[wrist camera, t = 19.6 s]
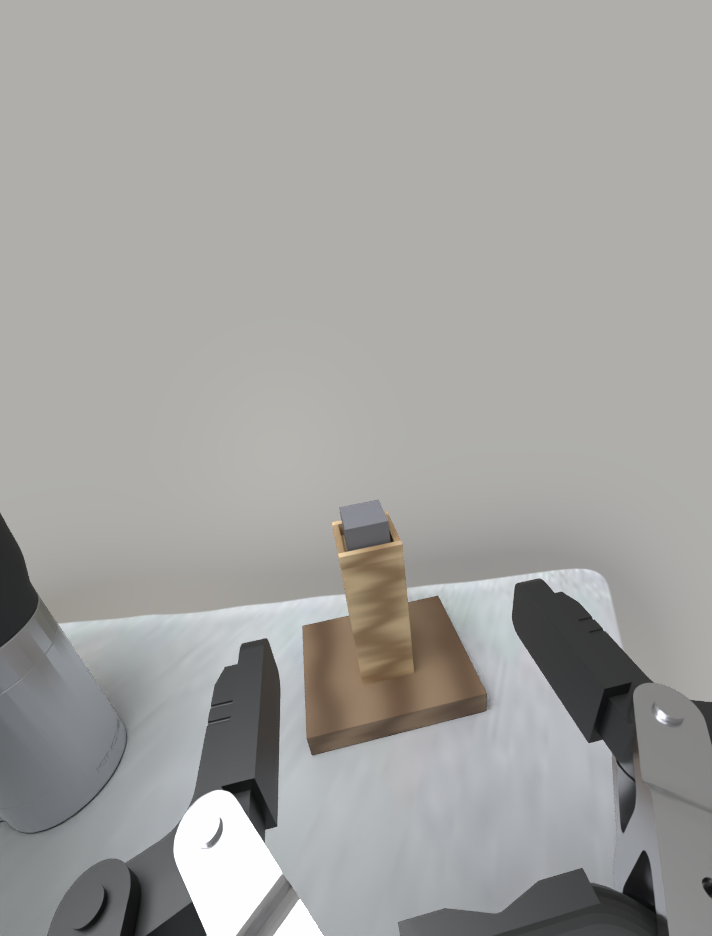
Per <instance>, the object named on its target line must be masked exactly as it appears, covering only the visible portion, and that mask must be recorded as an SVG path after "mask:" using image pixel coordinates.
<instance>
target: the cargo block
mask: <svg viewBox="0 0 712 936" xmlns="http://www.w3.org/2000/svg"><path fill="white" fill-rule="evenodd" d="M339 509H340V514H341V520H342V526H343V532H344V537H345V541H346V545H347V549H348V551H353V550H358V549H363V548H367V547H372V546H377V545H381V544H386V543H391V542H390V533H389V524H388V519H387V517H386V515H385V513H384V511H383V509H382V506H381V505H380V502H379V500H374V501H369V502H364V503H359V504H354V505H349V506H344V507H340V508H339Z"/></svg>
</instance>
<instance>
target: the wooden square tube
mask: <svg viewBox="0 0 712 936" xmlns="http://www.w3.org/2000/svg"><path fill="white" fill-rule="evenodd" d="M384 513H385V515H386V517H387V519H388V524H389V533H390V542H391V543H386V544H381V545H377V546H372V547H367V548H363V549H358V550H353V551H348V549H347V545H346V541H345V537H344V532H343V526H342V520H341V521H336V522H332V526H333V531H334V536H335V541H336V547H337V552H338V558H339V563H340V568H341V573H342V579H343V585H344V590H345V595H346V601H347V606H348V611H349V617H350V622H351V627H352V633H353V638H354V643H355V648H356V653H357V659H358V664H359V669H360V674H361V679H362V684H363V686H365V685H369V684H373V683H377V682H381V681H385V680H389V679H393V678H397V677H401V676H405V675H409V674H413V673H414V665H413V654H412V643H411V632H410V621H409V610H408V599H407V588H406V578H405V567H404V556H403V546H402V542H401V540H400V538H399V536H398V534H397V532H396V529H395V527H394V525H393V523H392V521H391V519H390V517H389V515H388V512H387V511H385V512H384Z"/></svg>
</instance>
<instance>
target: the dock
mask: <svg viewBox="0 0 712 936" xmlns="http://www.w3.org/2000/svg"><path fill="white" fill-rule="evenodd" d="M408 610H409V621H410V632H411V643H412V654H413V665H414V673H413V674H409V675H405V676H401V677H397V678H393V679H389V680H385V681H381V682H377V683H373V684H369V685H365V686H363V684H362V679H361V674H360V669H359V664H358V659H357V653H356V648H355V643H354V638H353V633H352V627H351V622H350V617H349V616H345V617H340V618H336V619H331V620H327V621H323V622H318V623H314V624H309V625H305V626H302V628H303V654H304V681H305V707H306V733H307V741H308V744H309V747H310V751H311V754H312V755H315V754H319V753H323V752H327V751H331V750H335V749H339V748H342V747H346V746H350V745H354V744H358V743H362V742H366V741H370V740H374V739H378V738H382V737H386V736H390V735H393V734H397V733H401V732H405V731H409V730H413V729H417V728H421V727H425V726H429V725H433V724H437V723H440V722H444V721H448V720H452V719H456V718H460V717H464V716H468V715H472V714H476V713H480V712H484V711H486V699H487V693H486V691H485V689H484V687H483V685H482V683H481V681H480V679H479V677H478V675H477V673H476V671H475V669H474V667H473V665H472V663H471V661H470V659H469V657H468V655H467V653H466V651H465V649H464V647H463V645H462V643H461V641H460V639H459V637H458V635H457V633H456V631H455V629H454V627H453V625H452V623H451V621H450V619H449V617H448V615H447V613H446V611H445V609H444V607H443V605H442V603H441V601H440V599H439V597H438V596H435V597H430V598H426V599H421V600H417V601H412V602H408Z"/></svg>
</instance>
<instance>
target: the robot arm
mask: <svg viewBox="0 0 712 936" xmlns="http://www.w3.org/2000/svg"><path fill="white" fill-rule="evenodd" d="M512 621H513V625H514V628H515V631H516V633H517V635H518V636H519V638H520V639H521V641H522V643H523V644H524V646H525V647H526V649H527V650H528V652H529V653H530V655H531V656H532V658H533V659H534V661H535V662H536V664H537V665H538V667H539V668H540V670H541V671H542V673H543V674H544V676H545V678H546V679H547V681H548V682H549V684H550V685H551V687H552V688H553V690H554V691H555V693H556V694H557V696H558V697H559V699H560V700H561V702H562V703H563V705H564V706H565V708H566V709H567V711H568V713H569V714H570V716H571V717H572V719H573V720H574V722H575V723H576V725H577V726H578V728H579V729H580V731H581V732H582V734H583V735H584V737H585V738H586V740H587V741H588V743H591V742H595V741H599V740H604V742H605V743H606V745H607V746H608V748H609V749H610V750H611V752H612V767H613V785H614V804H615V822H616V848H615V855H614V868H613V883H614V889H611V888H609V887H606V886H603V885H599V884H595V883H590V882H589V880H588V878H587V876H586V874H585V872H584V870H583V868H581V869H577V870H574V871H570V872H567V873H564V874H560V875H557V876H553V877H550V878H547V879H543V880H540V881H538V882H537V883H536V884H534V885H533V886H532V887H531V888H530V889H528V890H527V891H526V892H525V893H524V894H522V895H521V896H520V897H519V898H518V899H516V900H515V901H514V902H513V903H512V904H511V905H509V906H508V907H507V908H506V909H505V910H503V911H502V912H500V913H497V914H492V913H483V912H474V911H465V910H456V909H446V908H444V909H441V910H438V911H434V912H431V913H427V914H424V915H421V916H417V917H414V918H410V919H407V920H404V921H400V922H398V925H399V931H400V936H712V702H704V701H694V700H689V699H688V698H687V697H685V696H684V695H683V694H681V693H680V692H678V691H676V690H674V689H672V688H670V687H668V686H665V685H662V684H658V683H654V682H652V681H651V680H650V679H649V678H648V677H647V676H646V675H645V674H644V673H643V672H642V671H641V670H640V669H639V667H638V666H637V665H636V664H635V663H634V662H633V661H632V660H631V659H630V658H629V657H628V655H627V654H626V653H625V652H624V651H623V650H622V649H621V648H620V647H619V646H618V645H617V643H616V642H615V641H614V640H613V639H612V638H611V637H610V636H609V635H608V634H607V633H606V631H605V632H604V631H603V628H602V627H601V626H600V625H599V624H598V623H597V622H596V621H595V620H593V619H592V616H591V615H590V614H589V613H588V612H587V611H586V610H585V609H584V608H583V607H582V605H581V604H580V603H579V602H577V601H576V600H574V599H572V598H571V597H569V596H568V595H566V594H564V593H563V592H558V593H554V592H553V591H552V590H551V588H550V587H549V586H548V585H547V584H546V583H545V582H544V581H543V580H542V579H534V580H530V581H525V582H520V583H517V584H516V585H515V590H514V600H513V611H512ZM279 729H280V679H279V673H278V669H277V666H276V663H275V659H274V656H273V653H272V650H271V647H270V644H269V641H268V639H267V638H266V639H261V640H256V641H252V642H247V643H243V644H242V645H241V647H240V653H239V660H238V664H237V665H232V666H228V667H225V668H224V670H223V672H222V673H221V675H220V677H219V679H218V681H217V682H216V684H215V687H214V692H213V697H212V703H211V709H210V713H209V718H208V726H207V729H206V734H205V740H204V745H203V750H202V755H201V761H200V766H199V771H198V777H197V782H196V787H195V791H194V795H193V798H192V801H191V803H190V805H189V807H188V810H187V811H186V813H185V815H184V816H183V818H182V819H181V820H180V822H179V823H178V824H177V825H176V827H175V828H174V829H173V830H172V831H171V832H170V833H169V834H168V835H167V836H165V837H164V838H163V839H161V840H160V841H159V842H157V843H156V844H154V845H152V846H151V847H149V848H148V849H146V850H145V851H143V852H142V853H140V854H139V855H137V856H136V857H134V858H133V859H131V860H130V861H128V862H126V863H124V862H123V861H121V860H119V859H106V860H103V861H101V862H98V863H97V864H95V865H93V866H92V867H90V868H89V869H88V870H87V871H85V872H84V873H83V874H82V875H81V876H80V877H79V878H78V879H77V880H76V881H75V882H74V884H73V885H72V886H71V887H70V889H69V890H68V891H67V893H66V894H65V896H64V897H63V899H62V901H61V902H60V904H59V906H58V908H57V910H56V912H55V915H54V917H53V920H52V922H51V925H50V928H49V931H48V934H47V936H206V935H208V936H323V935H322V933H321V932H320V930H319V928H318V927H317V925H316V924H315V922H314V920H313V919H312V917H311V916H310V914H309V912H308V911H307V909H306V908H305V906H304V905H303V903H302V901H301V900H300V898H299V897H298V895H297V894H296V892H295V890H294V889H293V887H292V886H291V885H290V883H289V882H288V881H287V879H286V878H285V876H284V875H283V873H282V872H281V870H280V868H279V867H278V865H277V864H276V862H275V860H274V859H273V857H272V856H271V854H270V852H269V851H268V849H267V848H266V846H265V830H266V829H270V828H274V827H277V815H278V772H279ZM125 744H126V730H125V726H124V724H123V723H122V721H121V720H120V718H119V717H118V715H117V713H116V712H115V710H114V709H113V707H112V706H111V704H110V703H109V701H108V699H107V698H106V696H105V695H104V693H103V692H102V690H101V689H100V687H99V686H98V684H97V683H96V681H95V679H94V678H93V676H92V675H91V673H90V672H89V670H88V669H87V667H86V666H85V664H84V663H83V661H82V660H81V658H80V657H79V655H78V654H77V652H76V651H75V649H74V648H73V646H72V645H71V643H70V642H69V640H68V639H67V637H66V636H65V634H64V633H63V631H62V630H61V628H60V626H59V625H58V623H57V622H56V621H55V619H54V618H53V616H52V615H51V613H50V612H49V610H48V609H47V607H46V606H45V604H44V603H43V601H42V600H41V598H40V597H39V595H38V594H37V592H36V591H35V589H34V587H33V586H32V584H31V582H30V580H29V576H28V572H27V568H26V564H25V560H24V557H23V554H22V552H21V550H20V548H19V546H18V544H17V542H16V540H15V538H14V537H13V535H12V533H11V532H10V530H9V528H8V526H7V525H6V523H5V521H4V519H3V517H2V515H1V514H0V821H6V822H7V823H8V824H9V825H10V826H12V827H13V828H14V829H15V830H18V831H20V832H23V833H34V832H38V831H43V830H46V829H49V828H51V827H53V826H55V825H57V824H60V823H61V822H63V821H64V820H66V819H68V818H69V817H71V816H72V815H74V814H75V813H76V812H78V811H79V810H80V809H81V808H82V807H84V806H85V805H86V804H87V803H88V802H89V801H90V800H91V799H92V798H93V797H94V796H95V795H96V794H97V793H98V792H99V791H100V790H101V789H102V787H103V786H104V785H105V783H106V782H107V781H108V780H109V778H110V777H111V775H112V774H113V772H114V770H115V769H116V767H117V765H118V763H119V761H120V759H121V757H122V754H123V751H124V748H125Z"/></svg>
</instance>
